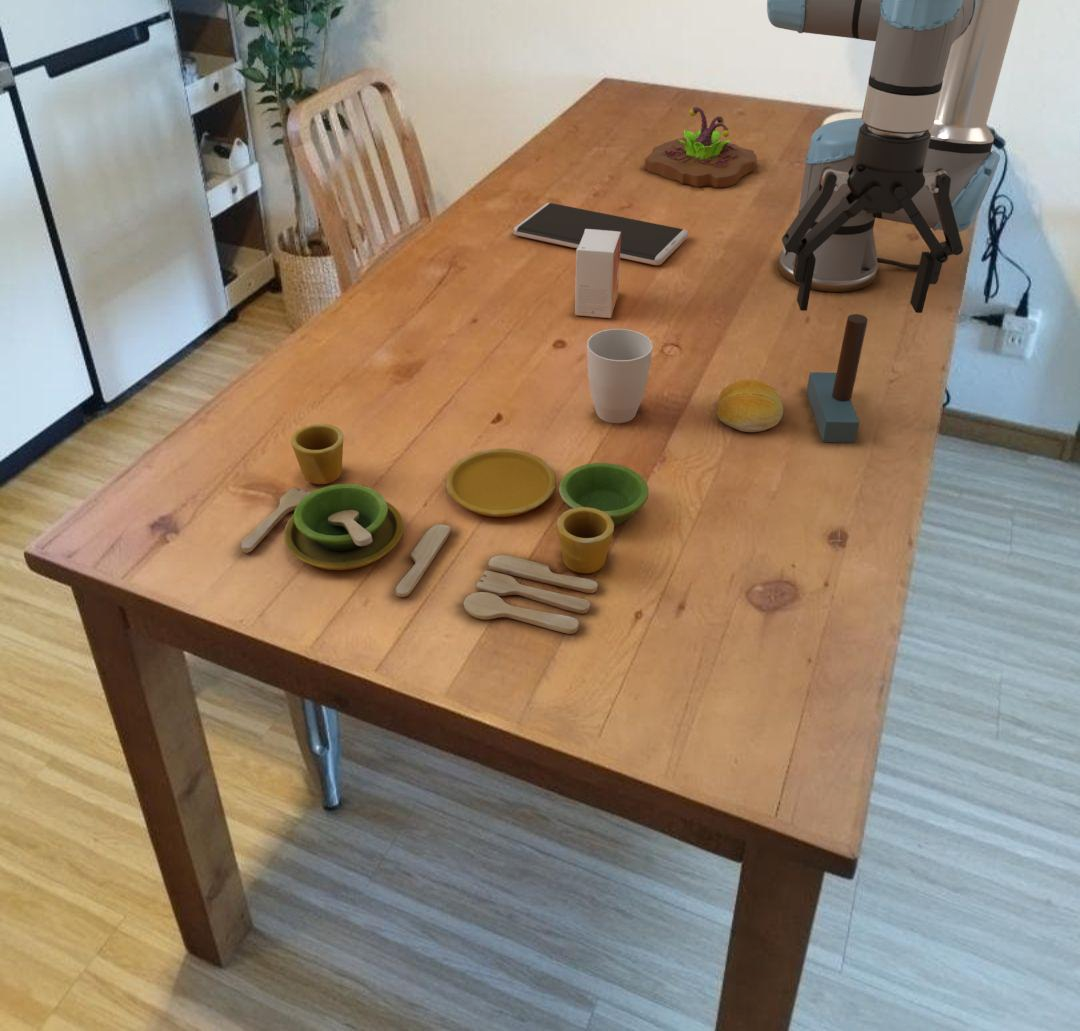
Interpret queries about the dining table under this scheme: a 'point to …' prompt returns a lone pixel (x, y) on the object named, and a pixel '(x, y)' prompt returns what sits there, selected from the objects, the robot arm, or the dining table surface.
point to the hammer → (839, 388)
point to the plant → (702, 157)
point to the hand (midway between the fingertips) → (858, 306)
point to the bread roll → (750, 406)
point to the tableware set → (478, 485)
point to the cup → (618, 372)
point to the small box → (597, 273)
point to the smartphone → (571, 222)
